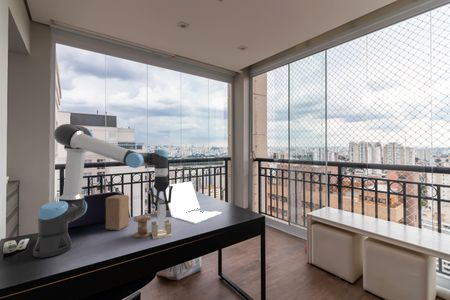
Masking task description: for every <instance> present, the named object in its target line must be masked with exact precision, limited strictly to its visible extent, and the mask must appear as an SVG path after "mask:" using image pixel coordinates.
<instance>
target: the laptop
mask: <svg viewBox="0 0 450 300" xmlns="http://www.w3.org/2000/svg"><path fill="white" fill-rule="evenodd" d="M169 185H170V186H173V188H172V193H171V203H168V210H169V213H170V216H171V217H172V218H173V219H176V218H177V220H181V221H184V222H186V223H187V222H188V223H190V224H193V225H196V224H199V223H202V222H203V221H206V220H208V219H210V218H213V217H216V216H218V215H221V214H222V213H223V212H221V211H215V210H214V211H208V210H207V211H206V210H205V211H204V212H203V211H202V212H203V213H202V212H200V211H201V210H199V211H191V210H194V209H195V210H198V209H200V208H201V206H200V204H199V200H198V197H197V195H196V191H195V188H194V185H193V182H192V181H185V182H179V183H172V184H169ZM166 196H167V201H168V196H169V187H168V188H167V189H166ZM197 208H198V209H197ZM188 211H191V212H188ZM186 212H187V213H186Z"/></svg>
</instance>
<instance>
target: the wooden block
mask: <svg viewBox="0 0 450 300" xmlns="http://www.w3.org/2000/svg"><path fill="white" fill-rule="evenodd" d="M129 202H130V196H129V195H127V194H125V195H124V194H115V195H111V196H107V197H106V198H105V230H113V231H115V230H116V231H120V230H122V229H123V228H126V227H127V226H129V224H130V222H129V221H130V217H129V214H130V206H129V205H130V203H129Z"/></svg>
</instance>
